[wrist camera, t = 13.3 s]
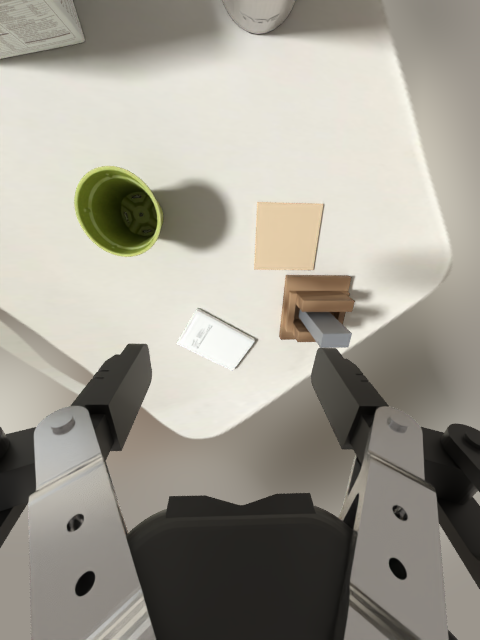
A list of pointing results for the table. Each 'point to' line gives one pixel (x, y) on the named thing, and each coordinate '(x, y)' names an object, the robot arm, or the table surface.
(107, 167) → the plant pot
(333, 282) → the rack
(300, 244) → the cork mat
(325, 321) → the grey rectangular block
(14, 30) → the supplement box
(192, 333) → the external hard drive
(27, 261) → the table surface
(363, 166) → the table surface
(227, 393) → the table surface
